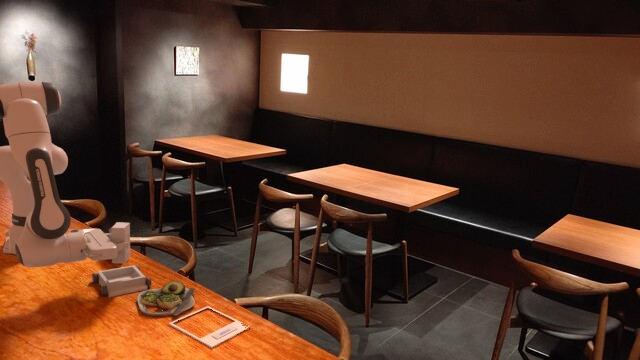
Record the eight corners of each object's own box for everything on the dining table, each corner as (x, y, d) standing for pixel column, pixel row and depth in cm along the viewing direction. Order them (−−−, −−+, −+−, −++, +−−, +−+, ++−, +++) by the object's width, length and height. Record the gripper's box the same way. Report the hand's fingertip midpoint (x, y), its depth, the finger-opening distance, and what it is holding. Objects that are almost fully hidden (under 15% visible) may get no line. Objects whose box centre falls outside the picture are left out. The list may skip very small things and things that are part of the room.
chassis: (91, 280, 168) (91, 270, 167) (136, 271, 177) (136, 262, 176) (104, 298, 157) (104, 287, 156) (151, 288, 165) (151, 278, 165)
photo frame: (212, 346, 134) (168, 322, 144) (211, 350, 134) (168, 326, 144) (250, 326, 146) (208, 305, 156) (250, 329, 146) (208, 308, 156)
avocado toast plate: (203, 317, 150) (203, 302, 149) (140, 325, 143) (139, 310, 142) (192, 289, 168) (192, 276, 167) (135, 295, 161) (135, 282, 160)
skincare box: (117, 256, 167) (116, 221, 165) (130, 257, 168) (130, 222, 165) (111, 263, 161) (110, 227, 159) (125, 263, 162) (124, 228, 159)
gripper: (85, 248, 147) (134, 241, 155) (69, 227, 162) (114, 222, 171) (86, 268, 148) (134, 260, 156) (70, 246, 164) (114, 240, 172)
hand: (123, 240), depth 164 cm, fingers closed on skincare box, 7 cm apart
